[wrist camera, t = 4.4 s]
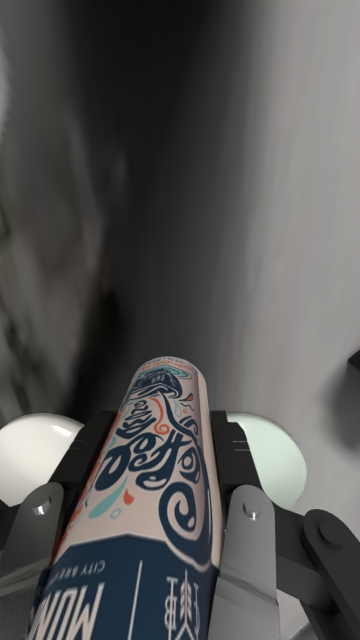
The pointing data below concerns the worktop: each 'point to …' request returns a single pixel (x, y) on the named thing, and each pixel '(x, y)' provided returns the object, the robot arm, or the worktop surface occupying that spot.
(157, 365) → the beer can
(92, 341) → the worktop surface
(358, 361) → the digital camera
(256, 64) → the worktop surface
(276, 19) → the worktop surface
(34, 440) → the glossy white dome
